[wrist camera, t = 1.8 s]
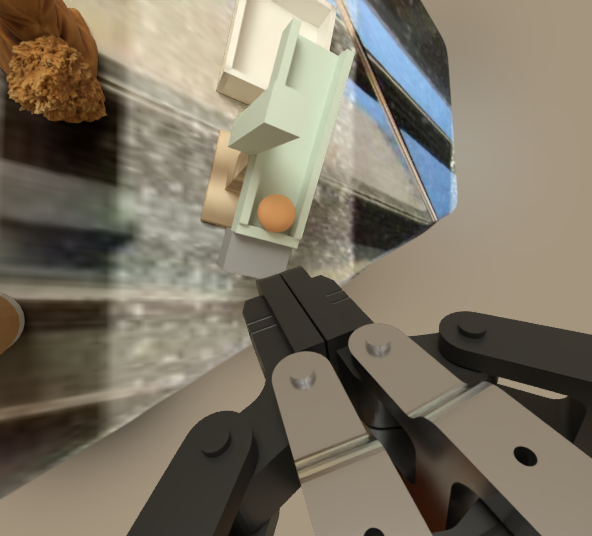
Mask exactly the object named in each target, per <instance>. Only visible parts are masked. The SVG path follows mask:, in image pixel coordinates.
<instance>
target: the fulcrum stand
mask: <svg viewBox="0 0 592 536" xmlns="http://www.w3.org/2000/svg"><path fill="white" fill-rule="evenodd" d="M230 135H231V133H229V132H227V131H224V130H220V132H219V136H218V141H217V146H216V150H215V155H214V160H213V164H212V169H211V173H210V178H209V183H208V187H207V192H206V197H205V201H204V206H203V210H202V215H201V221H205V222H208V223H212V224H216V225H220V226H223V227H227V228H231V227H232V223H233V220H234V216H235V212H236V208H237V204H238V200H239V197H240V193H241V189H242V185H243V181H244V178H245V174H246V170H247V166H248V162H249V158H250V155H249V154H246V153H243V152H241V151H238V150H235V149H232V148H230V147H228V143H229V139H230Z"/></svg>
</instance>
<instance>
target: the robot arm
mask: <svg viewBox="0 0 592 536" xmlns="http://www.w3.org/2000/svg"><path fill="white" fill-rule="evenodd" d="M256 285H257V289H258V292H259V296H258V297H256V298H253V299H250V300H247V301H245V305H244V309H243V315H244V319H245V322H246V325H247V328H248V331H249V335H250V338H251V341H252V344H253V347H254V350H255V353H256V355H257V358H258V361H259V363H260V366H261V369H262V371H263V374H264V377H265V379H266V382H265V386H264V388H263V390H262V392H261V393H260V395H259V396H258V398H257V399H256V400H255V401H254V402H253V403H252V404H250V405H249V406H248V407H247V408H245V409H244V410H243V411H242V412H240V413H237V412H234V411H220V412H216V413H214V414H211V415H209V416H207V417H205V418H203V419H202V420H201V421H199V422H198V423H197V424H196V425H195V426H194V427H193V428H192V429H191V430H190V432H189V433H188V435H187V436H186V438H185V439H184V441H183V443H182V444H181V446H180V448H179V449H178V451H177V453H176V454H175V456H174V458H173V459H172V461H171V463H170V464H169V466H168V468H167V469H166V471H165V473H164V474H163V476H162V478H161V479H160V481H159V482H158V484H157V486H156V487H155V489H154V491H153V493H152V494H151V496H150V498H149V499H148V501H147V503H146V504H145V506H144V507H143V509H142V511H141V512H140V514H139V516H138V518H137V519H136V521H135V522H134V524H133V526H132V527H131V529H130V531H129V532H128V534H127V536H273V535H274V532H275V528H276V525H277V521H278V518H279V510H280V507H281V506H282V505H283V504H284V503H285V502H286V501H287V500H288V499H289V498H290V497H291V496H292V495H293V494H294V493H295V492H296V491H297V490H298V489H299V488H300V487H302V490H303V494H304V497H305V500H306V504H307V508H308V511H309V515H310V518H311V521H312V525H313V528H314V532H315V536H592V335H590V334H584V333H580V332H574V331H569V330H564V329H559V328H554V327H549V326H543V325H538V324H533V323H528V322H523V321H518V320H512V319H507V318H502V317H497V316H492V315H487V314H481V313H476V312H468V311H463V312H455V313H452V314H449V315H447V316H446V317H444V318H443V319H442V320H441V323H440V325H439V333H435V334H427V335H419V336H407V335H405V334H404V333H403V332H402V331H400V330H399V329H397V328H395V327H393V326H391V325H387V324H380V323H377V324H376V323H374V322H373V321H372V320H371V319H370V318H369V317H368V316H367V315H366V314H365V313H364V312H363V311H362V310H361V309H360V308H359V307H358V306H357V305H356V304H355V302H354V301H353V300H352V299H351V298H349V297H348V295H347V294H346V293H345V292H344V291H342V289H341V288H340V287H339V286H338V285H337V284H336V283H335V281H334V280H331V279H329V278H326V277H324V276H322V275H319V276H316V277H314V278H311V277H310V276H309V275H308V273H307V272H306V271H305V270H304V269H303V268H302V267H301V266H299V267H296V268H293V269H290V270H287V271H284V272H281V273H279V274H275V275H272V276H269V277H266V278H263V279H260V280H257V281H256ZM498 377H501V378H505V379H509V380H513V381H516V382H520V383H524V384H527V385H531V386H534V387H538V388H542V389H546V390H549V391H553V392H556V393H560V394H563V395H567V397H566V398H563V399H549V398H546V397H542V396H539V395H535V394H531V393H528V392H525V391H521V390H517V389H514V388H510V387H507V386H503V385H500V384H497V382H498Z"/></svg>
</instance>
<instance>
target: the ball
mask: <svg viewBox="0 0 592 536" xmlns="http://www.w3.org/2000/svg"><path fill="white" fill-rule="evenodd" d="M295 214H296V213H295V207H294V205H293V203H292V202H291V200H290V199H289V198H287V197H286V196H284V195H281V194H272V195H269V196H267V197H265V198H264V199H263V200H262V201H261V203H260V204H259V207H258V211H257V215H258V220H259V222H260V224H261V225H262V226H263V227H264V228H265V229H266V230H268V231H270V232H275V233H278V232H283V231H285V230H287V229H288V228H289V227H290V226H291V225H292V224H293V222H294V220H295Z"/></svg>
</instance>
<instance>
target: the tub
mask: <svg viewBox="0 0 592 536" xmlns="http://www.w3.org/2000/svg"><path fill="white" fill-rule="evenodd" d="M336 11H337V7H335V6H333V5H332V4H330V3H329V2H327V1H325V0H236V4H235V8H234V13H233V17H232V22H231V26H230V31H229V35H228V40H227V44H226V49H225V53H224V58H223V63H222V67H221V72H220V76H219V81H218V85H217V90H216V91H217V92H220V93H222V94H224V95H227V96H229V97H231V98H234V99H236V100H238V101H241V102H243V103H245V104H248V105H251V104H252V103H253V102H254V101H255V100H256V99H257V98H258V97H259V96H260V95H261V94H262V93H263V92H264V91H265V90H266V89H267V88H268V86H269V82H270V78H271V74H272V70H273V67H274V63H275V59H276V55H277V51H278V48H279V44H280V40H281V36H282V32H283V31H284V29H285V28H286V27H287V25H288V24H289V23H290V21H291V20H292V19H293V18H295V19H297V20H298V21H300V22H302V23H301V27H300V30H299V34H300V35H301V36H303V37H305V38H307V39H309V40H310V41H312V42H314V43H316V44H318V45H319V46H321V47H323V48H325V49H327V50H328V51H330V45H331V39H332V34H333V28H334V22H335V16H336Z"/></svg>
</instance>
